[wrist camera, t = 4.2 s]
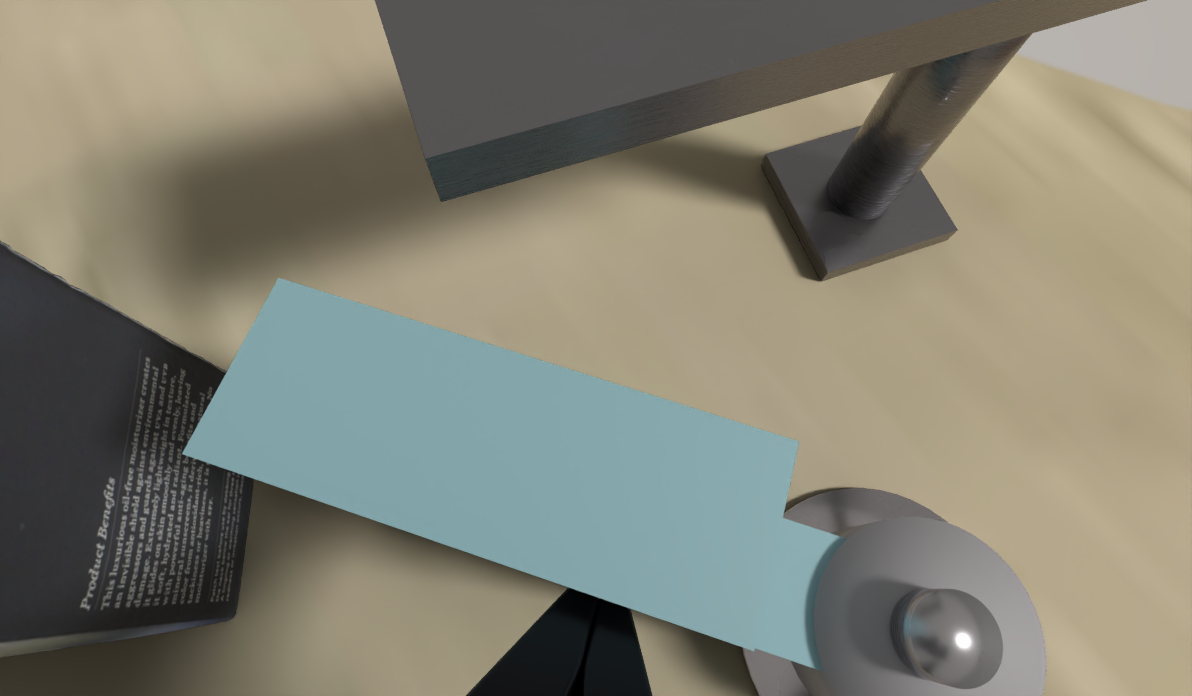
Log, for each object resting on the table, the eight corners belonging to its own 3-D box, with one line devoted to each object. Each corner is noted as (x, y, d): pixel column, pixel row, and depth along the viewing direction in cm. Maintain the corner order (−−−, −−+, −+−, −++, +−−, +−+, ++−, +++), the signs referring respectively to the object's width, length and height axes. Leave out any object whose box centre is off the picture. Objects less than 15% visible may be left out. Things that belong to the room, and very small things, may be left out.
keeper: (510, 390, 18) (425, 157, 8) (464, 248, 20) (345, -95, 10) (950, 245, 20) (1312, -86, 10) (877, 125, 22) (1130, -265, 12)
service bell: (810, 832, 15) (886, 913, 11) (696, 540, 17) (728, 528, 13) (1061, 717, 16) (1208, 758, 12) (923, 454, 18) (1011, 420, 14)
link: (987, 560, 17) (1350, 539, 9) (965, 768, 15) (1385, 970, 7) (427, 380, 18) (309, 222, 10) (352, 553, 16) (141, 526, 8)
